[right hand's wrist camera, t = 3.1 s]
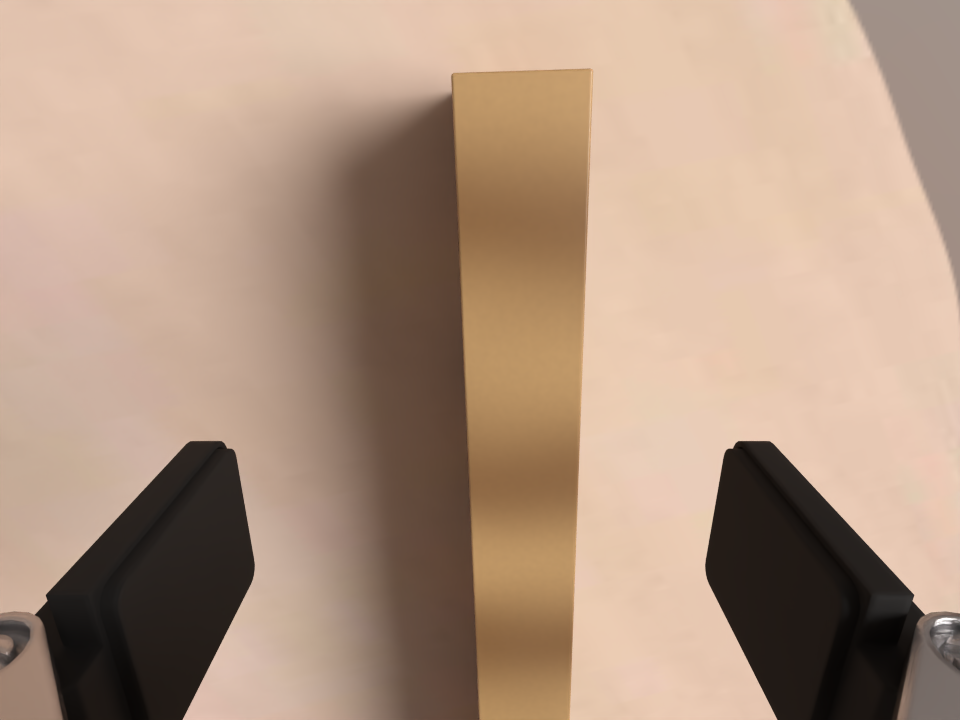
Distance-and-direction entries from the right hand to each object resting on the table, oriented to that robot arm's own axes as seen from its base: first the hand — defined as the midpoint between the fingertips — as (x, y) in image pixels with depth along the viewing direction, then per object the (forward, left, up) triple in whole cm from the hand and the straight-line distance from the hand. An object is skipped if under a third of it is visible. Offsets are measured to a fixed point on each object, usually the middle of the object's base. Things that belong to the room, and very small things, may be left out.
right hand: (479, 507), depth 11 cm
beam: (+23, -8, -18) cm, 30 cm away
